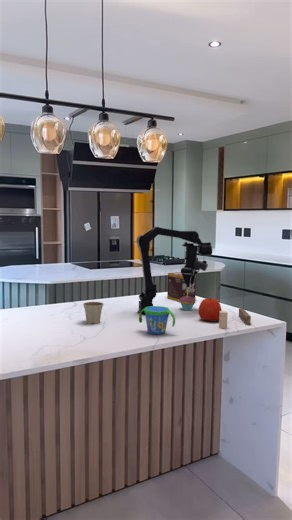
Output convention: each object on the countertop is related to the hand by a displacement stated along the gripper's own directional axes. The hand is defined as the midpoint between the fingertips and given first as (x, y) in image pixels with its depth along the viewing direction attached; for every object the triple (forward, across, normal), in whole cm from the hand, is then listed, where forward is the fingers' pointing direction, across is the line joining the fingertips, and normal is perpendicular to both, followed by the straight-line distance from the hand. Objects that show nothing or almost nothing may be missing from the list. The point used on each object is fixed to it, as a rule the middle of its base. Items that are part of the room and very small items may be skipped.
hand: (190, 285), depth 199 cm
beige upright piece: (+13, -12, -17) cm, 25 cm away
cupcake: (+14, +5, +2) cm, 15 cm away
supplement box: (+14, +30, +12) cm, 35 cm away
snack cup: (+14, -42, +4) cm, 44 cm away
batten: (+13, -9, -28) cm, 33 cm away
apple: (+14, -14, -13) cm, 23 cm away
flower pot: (+15, -36, +37) cm, 53 cm away
